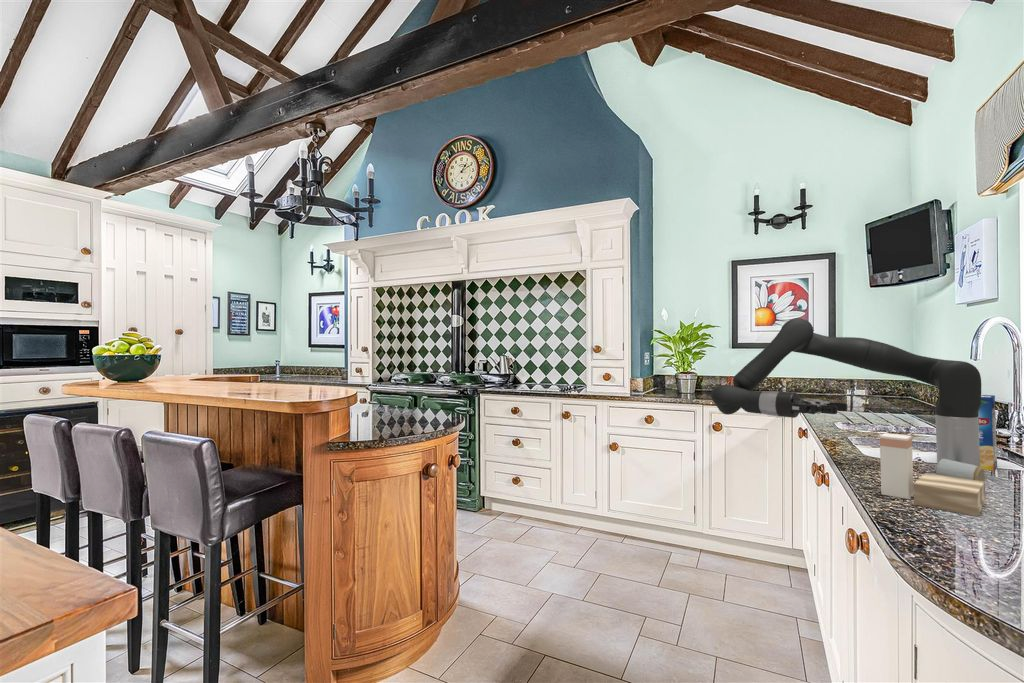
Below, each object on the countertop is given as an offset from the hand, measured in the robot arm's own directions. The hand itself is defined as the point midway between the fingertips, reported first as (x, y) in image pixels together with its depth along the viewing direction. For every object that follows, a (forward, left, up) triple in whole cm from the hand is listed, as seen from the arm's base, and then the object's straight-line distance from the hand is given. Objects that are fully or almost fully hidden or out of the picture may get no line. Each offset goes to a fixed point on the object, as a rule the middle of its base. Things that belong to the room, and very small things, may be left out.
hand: (842, 408), depth 131 cm
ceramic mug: (-16, +22, -21) cm, 35 cm away
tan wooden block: (0, +22, -21) cm, 30 cm away
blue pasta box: (-50, +20, -21) cm, 58 cm away
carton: (0, +12, -21) cm, 24 cm away
